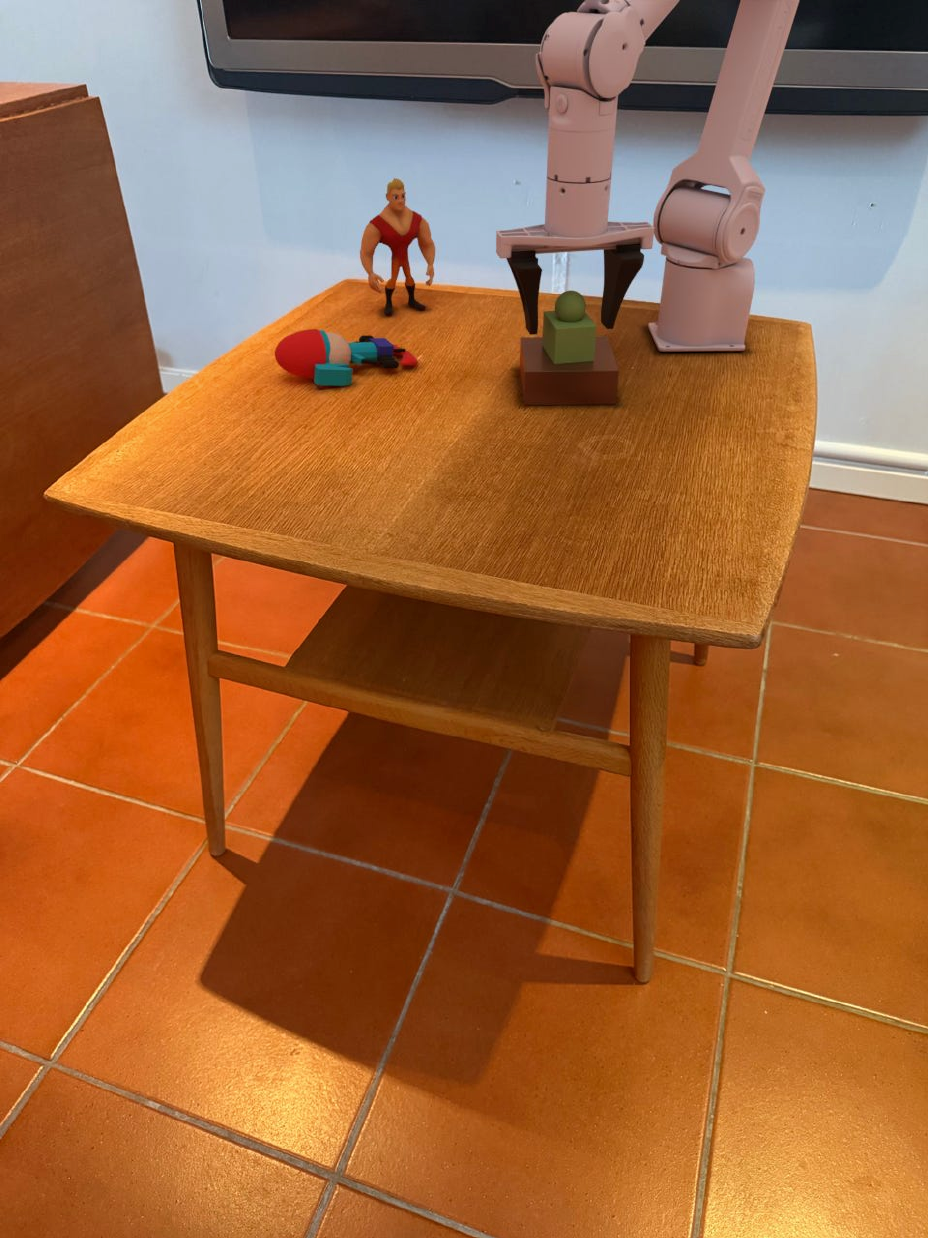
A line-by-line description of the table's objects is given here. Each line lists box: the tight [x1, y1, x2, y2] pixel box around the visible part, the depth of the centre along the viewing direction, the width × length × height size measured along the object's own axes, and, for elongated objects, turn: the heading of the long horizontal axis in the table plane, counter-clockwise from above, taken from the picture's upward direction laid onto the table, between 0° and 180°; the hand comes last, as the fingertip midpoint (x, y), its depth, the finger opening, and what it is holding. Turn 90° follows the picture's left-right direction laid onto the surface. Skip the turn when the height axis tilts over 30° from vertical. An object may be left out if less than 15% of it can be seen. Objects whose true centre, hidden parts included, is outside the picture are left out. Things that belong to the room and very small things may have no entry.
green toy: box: [542, 290, 598, 364], centre depth 86 cm, size 4×5×6 cm
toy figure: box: [274, 328, 419, 387], centre depth 93 cm, size 8×5×15 cm
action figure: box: [359, 177, 436, 316], centre depth 104 cm, size 10×4×15 cm, turn 114°
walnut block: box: [519, 336, 620, 406], centre depth 89 cm, size 9×9×4 cm
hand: (569, 328), depth 86 cm, fingers open, 7 cm apart
